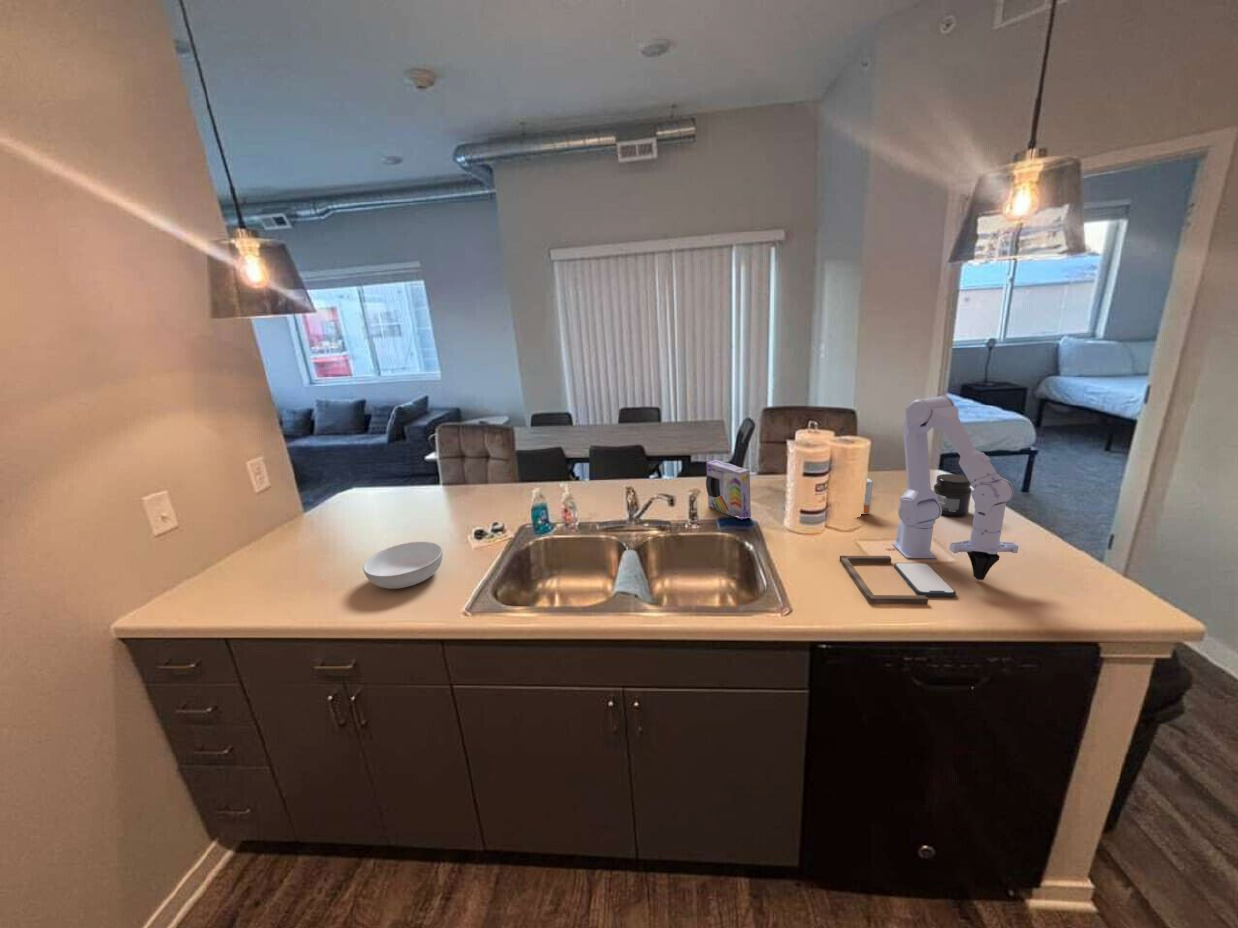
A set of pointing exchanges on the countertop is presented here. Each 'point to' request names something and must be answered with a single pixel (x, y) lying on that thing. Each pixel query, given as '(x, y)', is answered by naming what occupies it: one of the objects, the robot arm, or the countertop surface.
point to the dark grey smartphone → (924, 580)
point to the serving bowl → (403, 564)
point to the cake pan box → (728, 488)
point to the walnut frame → (867, 592)
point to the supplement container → (953, 494)
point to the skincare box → (868, 496)
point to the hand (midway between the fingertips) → (978, 577)
